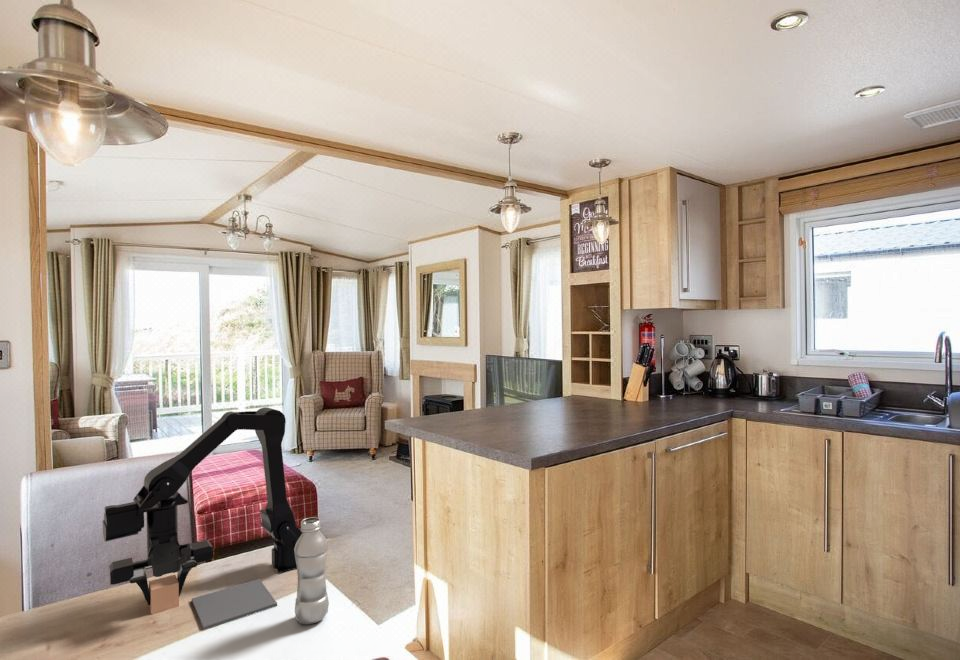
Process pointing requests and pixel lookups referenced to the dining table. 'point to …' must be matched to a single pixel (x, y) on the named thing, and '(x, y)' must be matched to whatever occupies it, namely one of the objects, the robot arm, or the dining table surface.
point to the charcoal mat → (232, 603)
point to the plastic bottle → (311, 573)
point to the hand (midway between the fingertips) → (163, 600)
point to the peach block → (164, 594)
